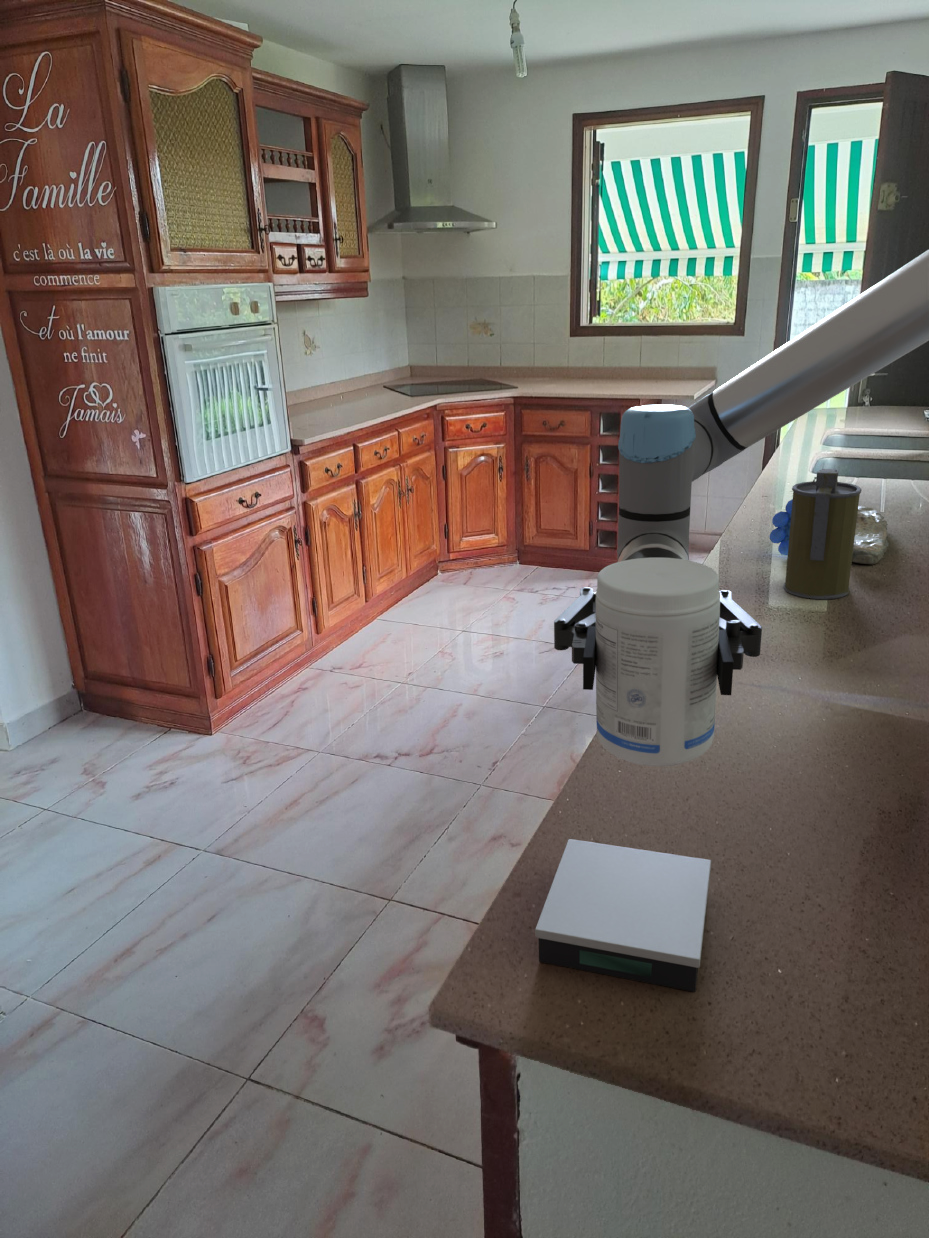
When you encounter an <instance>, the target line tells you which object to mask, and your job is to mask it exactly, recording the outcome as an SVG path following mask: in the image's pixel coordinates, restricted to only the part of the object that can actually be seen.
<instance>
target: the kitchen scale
mask: <svg viewBox="0 0 929 1238" xmlns="http://www.w3.org/2000/svg"><path fill="white" fill-rule="evenodd" d="M711 868H712V860H711V859H705V858H699V857H691V856H686V855H679V854H672V853H665V852H660V851H653V850H644V849H640V848H639V849H638V848H632V847H625V846H617V845H612V844H607V843H606V844H605V843H598V842H592V841H585V840H578V839H571V838H568V839H567V842H566V844H565V848H564V850H563V853H562V856H561V859H560V861H559V864H558V867H557V870H556V872H555V875H554V877H553V880H552V883H551V885H550V888H549V891H548V894H547V896H546V898H545V902H544V904H543V907H542V909H541V912H540V915H539V918H538V920H537V924H536V927H535V929H534V933H535V935H534V937H535V938H536V939H538V961H539V963H543V964H548V965H554V966H560V967H565V968H568V969H573V970H574V969H575V970H580V971H584V972H590V973H595V974H600V975H606V976H610V977H615V978H621V979H626V980H631V981H635V982H640V983H646V984H650V985H656V986H661V987H666V988H671V989H677V990H681V991H687V992H692V993H695V992H696V989H697V982H698V981H697V980H698V971H699V968H700V967H701V959H702V950H703V949H702V948H703V941H704V940H703V939H704V932H705V922H706V914H707V913H706V912H707V904H708V895H709V886H710V879H711V878H710V877H711Z"/></svg>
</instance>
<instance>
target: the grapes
mask: <svg viewBox="0 0 929 1238" xmlns="http://www.w3.org/2000/svg"><path fill="white" fill-rule="evenodd" d="M792 501H793V498H792V499H790V500H788V501H787V503H786V504H785V506H784V509H785V511H779V512H777V513H775V514H774V516H773V517H772V520H771V523H772V525H773V526H774V527H775V528H774V529H771V531H770V534H769V541H770V542H771V543H772V544H779V545H778V546H777V551H778V552H779V554H780V555H782V556H788V547H789V535H790V524H791V512H792Z"/></svg>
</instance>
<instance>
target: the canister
mask: <svg viewBox="0 0 929 1238" xmlns="http://www.w3.org/2000/svg"><path fill="white" fill-rule="evenodd" d="M813 478H814V479H812V481H804V482H798V483H795V484H793V485H792V487H791V490H792V499H793V501H792V512H791V524H790V535H789V547H788V555H787V559H786V573H785V581H784V583H783V589H784V591H785V592H787V593H789V594H790V595H793V596H795V597H800V598H804V599H809V598H810V600H826V601H827V600H837V599H842V598H844V597H846V596H848V595H849V594H850V593H851V588H850V579H851V571H852V564H853V562H852V555H853V547H854V538H855V530H856V522H857V513H858V506H860V495H861V493H862V488H861V487H860V486H859V485H856V484H854V483H848V482H842V481H838V480H839V479H838V478H839V470H837V469H836V468H835V469H834V468H822V469H820V470H818V471H817V472H816V476H814V477H813Z"/></svg>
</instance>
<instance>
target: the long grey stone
mask: <svg viewBox="0 0 929 1238" xmlns="http://www.w3.org/2000/svg"><path fill="white" fill-rule="evenodd" d="M887 526H888V521H887V520H886V519H885V516H883V515H882V513H880V512H879V511H878V510H876V509H874V508H873V507H871V506H864V505H858V513H857V522H856V530H855V538H854V547H853V555H852V563H856V564H861V565H862V564H863V565H871V566H872V565H875V564H878V563H879V562H880V560H882V559H883V558H884V555H885V554H886V553H887V548H888V547H889V545H890V543H889V541H888V539H887V536H888V527H887Z"/></svg>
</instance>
